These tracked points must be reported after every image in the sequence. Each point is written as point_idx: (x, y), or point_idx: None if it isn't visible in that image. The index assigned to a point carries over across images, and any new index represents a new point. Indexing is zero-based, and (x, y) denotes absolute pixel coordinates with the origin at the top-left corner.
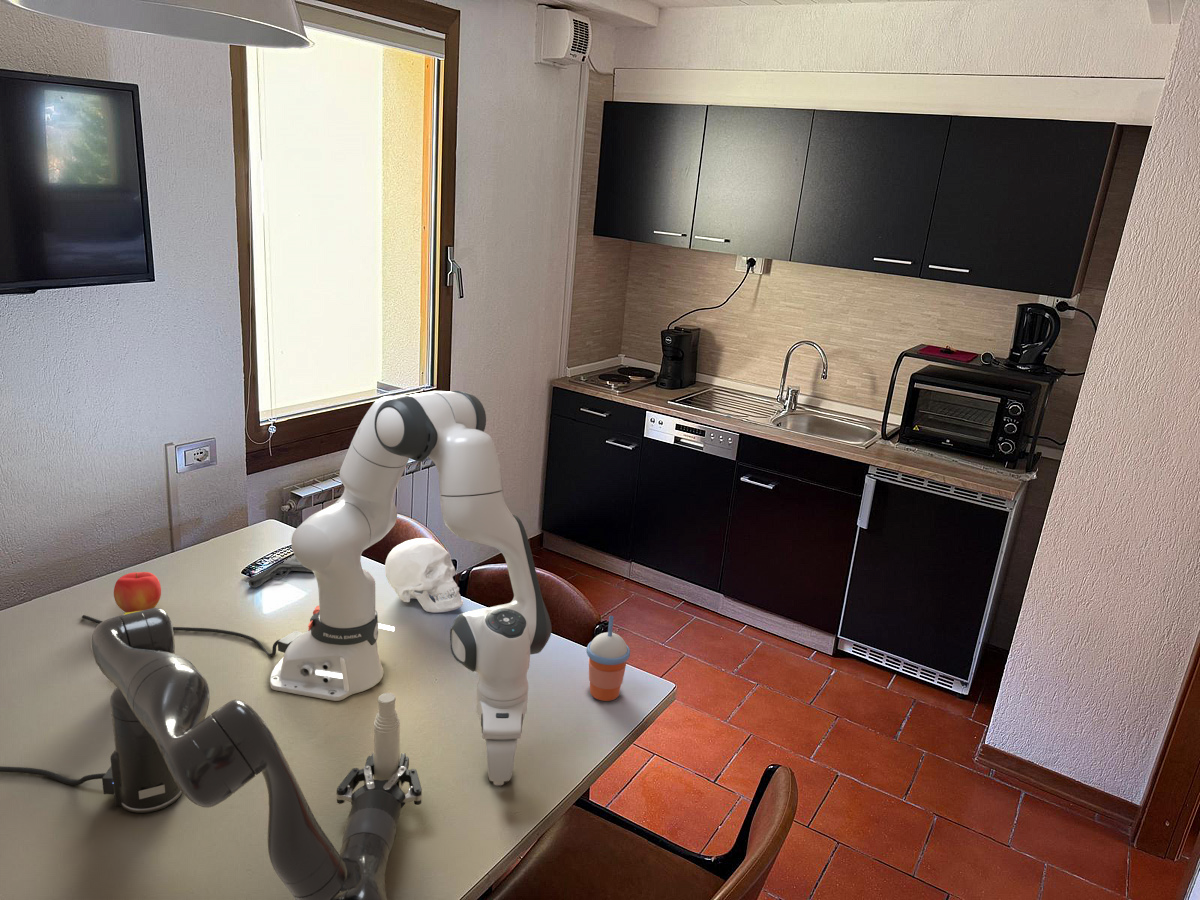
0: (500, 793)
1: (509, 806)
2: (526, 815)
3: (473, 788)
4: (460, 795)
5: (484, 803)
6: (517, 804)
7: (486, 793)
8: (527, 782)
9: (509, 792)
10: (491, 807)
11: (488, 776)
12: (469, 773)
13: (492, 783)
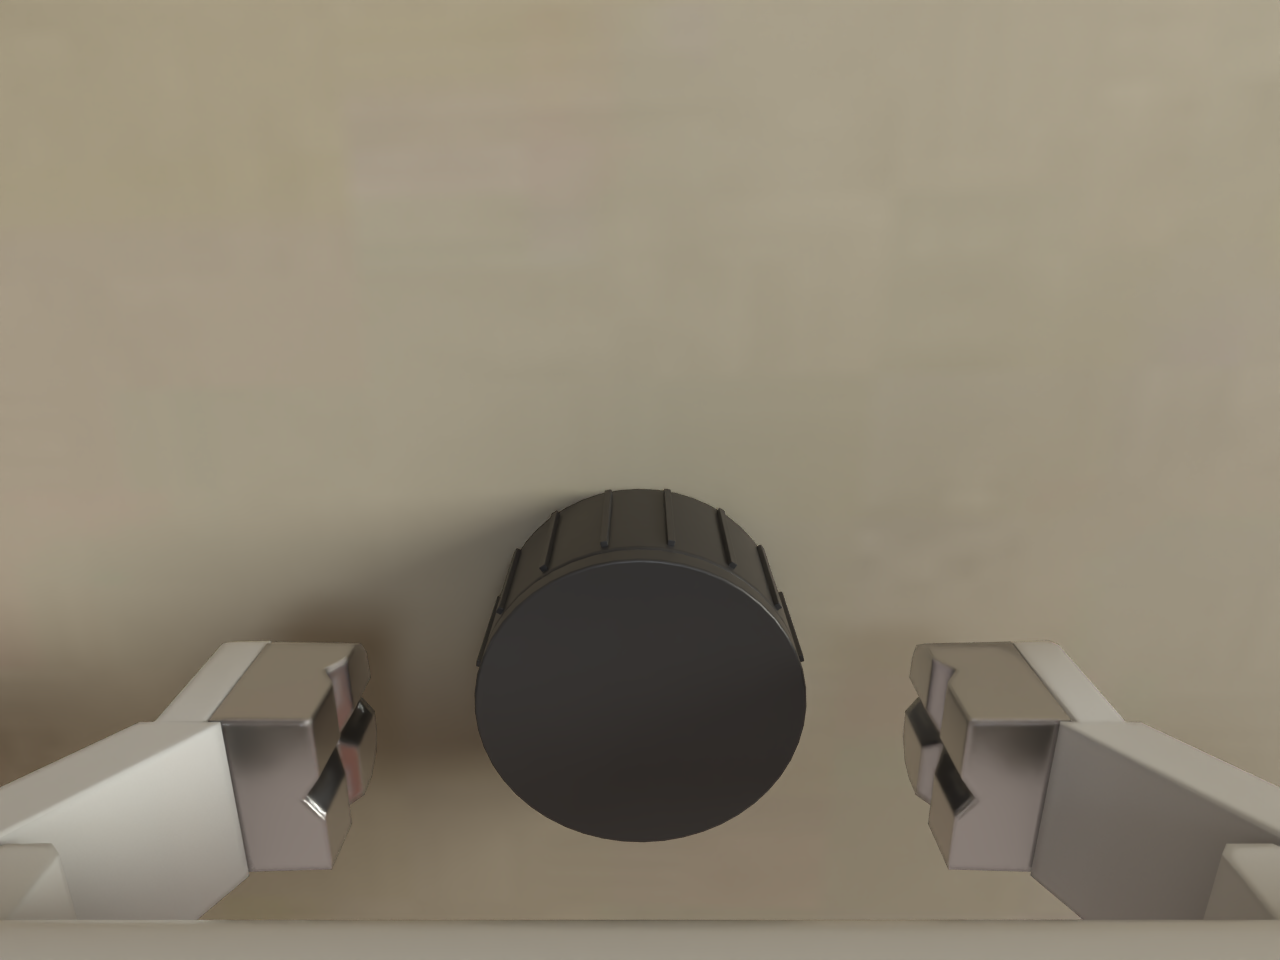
0: (355, 631)
1: None
2: None
3: (425, 290)
4: (254, 96)
5: (142, 446)
6: None
7: (338, 468)
8: (565, 898)
9: (383, 726)
10: (84, 531)
11: (601, 509)
12: (755, 220)
13: (525, 543)
